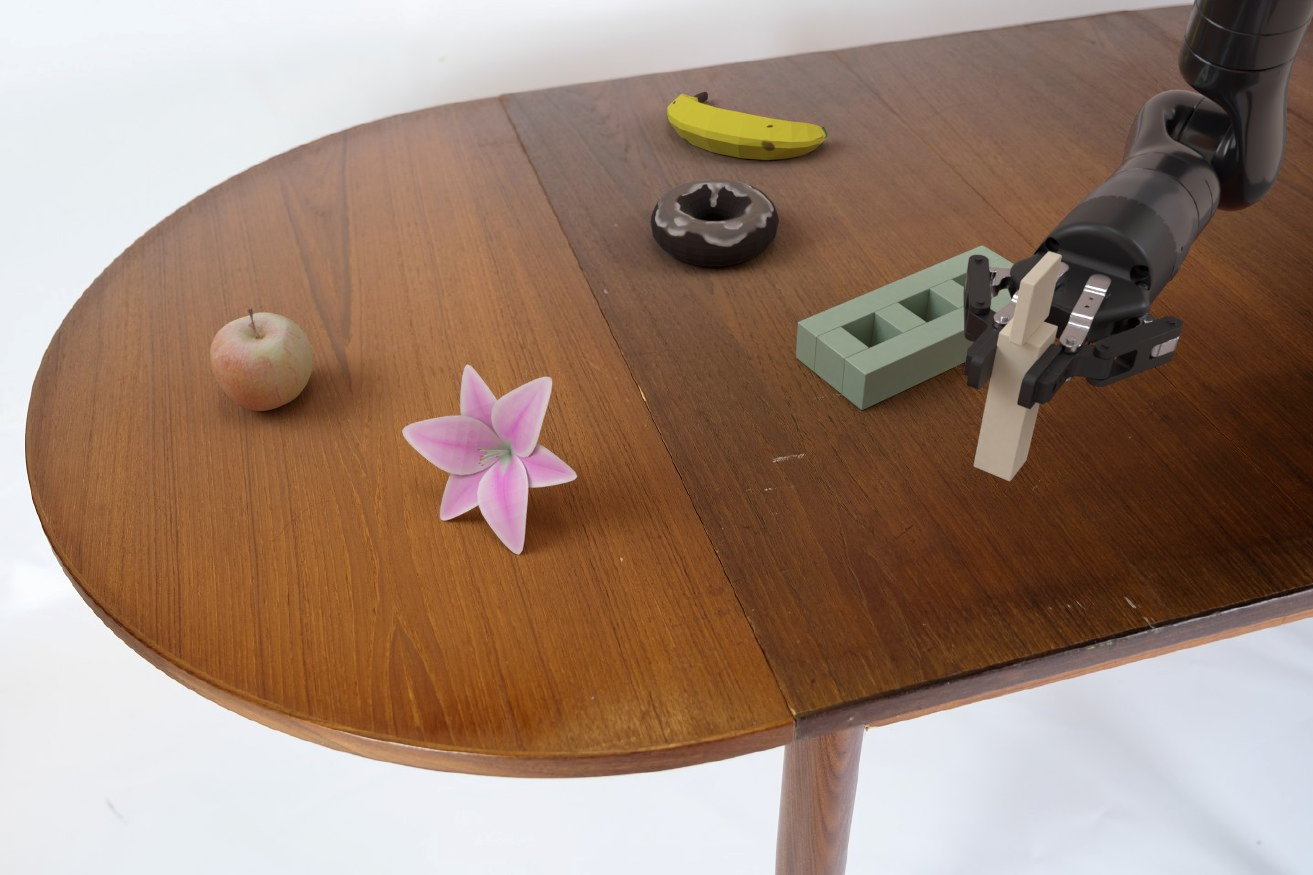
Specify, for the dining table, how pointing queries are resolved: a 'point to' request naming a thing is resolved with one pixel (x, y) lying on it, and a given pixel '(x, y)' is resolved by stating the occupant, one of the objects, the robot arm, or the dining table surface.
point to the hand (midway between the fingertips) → (1000, 384)
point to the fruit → (261, 360)
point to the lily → (492, 454)
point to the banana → (741, 131)
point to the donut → (714, 222)
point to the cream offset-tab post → (1017, 374)
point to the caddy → (894, 332)
